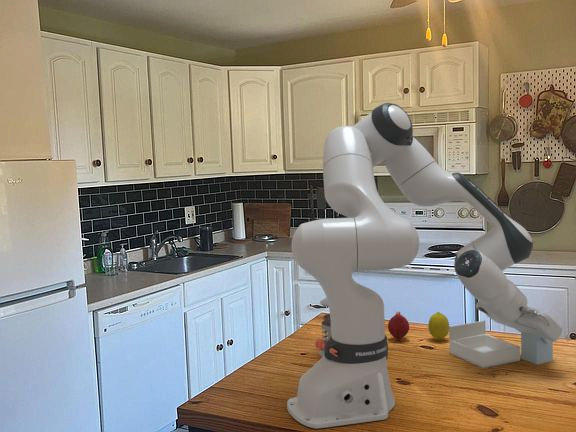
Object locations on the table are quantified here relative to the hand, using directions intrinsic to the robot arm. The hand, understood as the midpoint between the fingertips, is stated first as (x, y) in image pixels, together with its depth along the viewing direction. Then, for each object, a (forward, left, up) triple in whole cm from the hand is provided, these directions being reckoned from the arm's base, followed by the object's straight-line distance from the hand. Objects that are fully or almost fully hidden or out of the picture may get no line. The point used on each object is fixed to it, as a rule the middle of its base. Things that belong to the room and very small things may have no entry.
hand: (538, 337), depth 144 cm
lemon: (-12, +24, -6) cm, 27 cm away
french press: (-41, +28, -6) cm, 50 cm away
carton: (-1, 0, -5) cm, 5 cm away
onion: (-21, +30, -6) cm, 37 cm away
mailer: (-10, +8, -5) cm, 14 cm away
